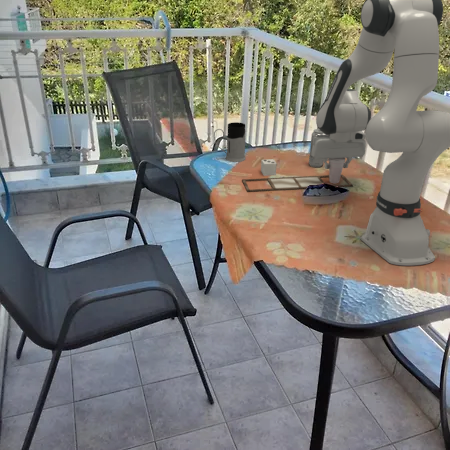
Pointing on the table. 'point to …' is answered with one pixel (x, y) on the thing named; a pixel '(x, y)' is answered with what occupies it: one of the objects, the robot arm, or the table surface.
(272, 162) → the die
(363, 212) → the table surface
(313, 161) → the energy drink can
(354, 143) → the robot arm
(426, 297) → the table surface
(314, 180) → the board
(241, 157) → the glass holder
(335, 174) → the smoothie
